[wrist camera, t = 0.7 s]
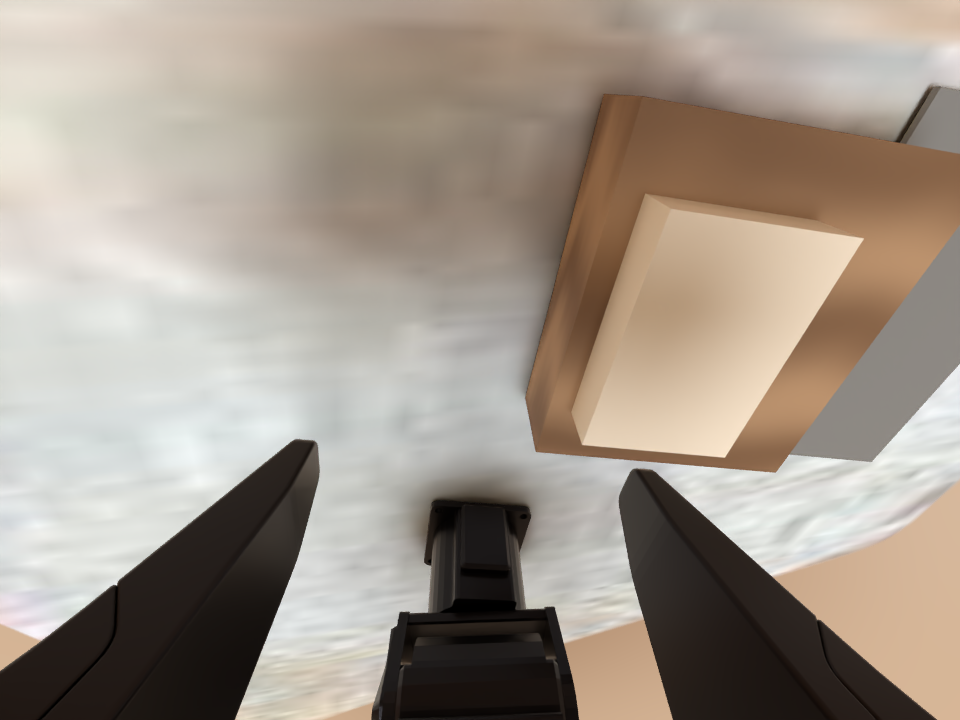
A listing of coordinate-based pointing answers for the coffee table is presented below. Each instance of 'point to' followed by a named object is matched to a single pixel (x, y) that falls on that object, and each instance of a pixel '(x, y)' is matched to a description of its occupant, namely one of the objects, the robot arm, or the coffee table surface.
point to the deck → (753, 186)
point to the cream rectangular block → (702, 323)
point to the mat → (901, 333)
